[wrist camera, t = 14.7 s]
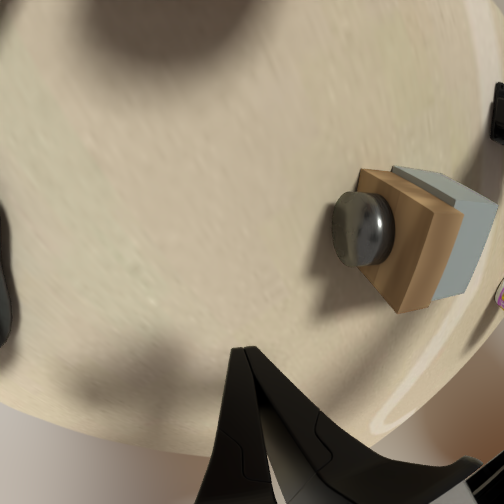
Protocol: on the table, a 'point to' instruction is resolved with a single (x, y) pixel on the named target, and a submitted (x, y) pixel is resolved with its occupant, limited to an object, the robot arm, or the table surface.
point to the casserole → (4, 305)
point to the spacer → (411, 241)
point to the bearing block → (471, 231)
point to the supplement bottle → (500, 295)
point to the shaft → (363, 229)
